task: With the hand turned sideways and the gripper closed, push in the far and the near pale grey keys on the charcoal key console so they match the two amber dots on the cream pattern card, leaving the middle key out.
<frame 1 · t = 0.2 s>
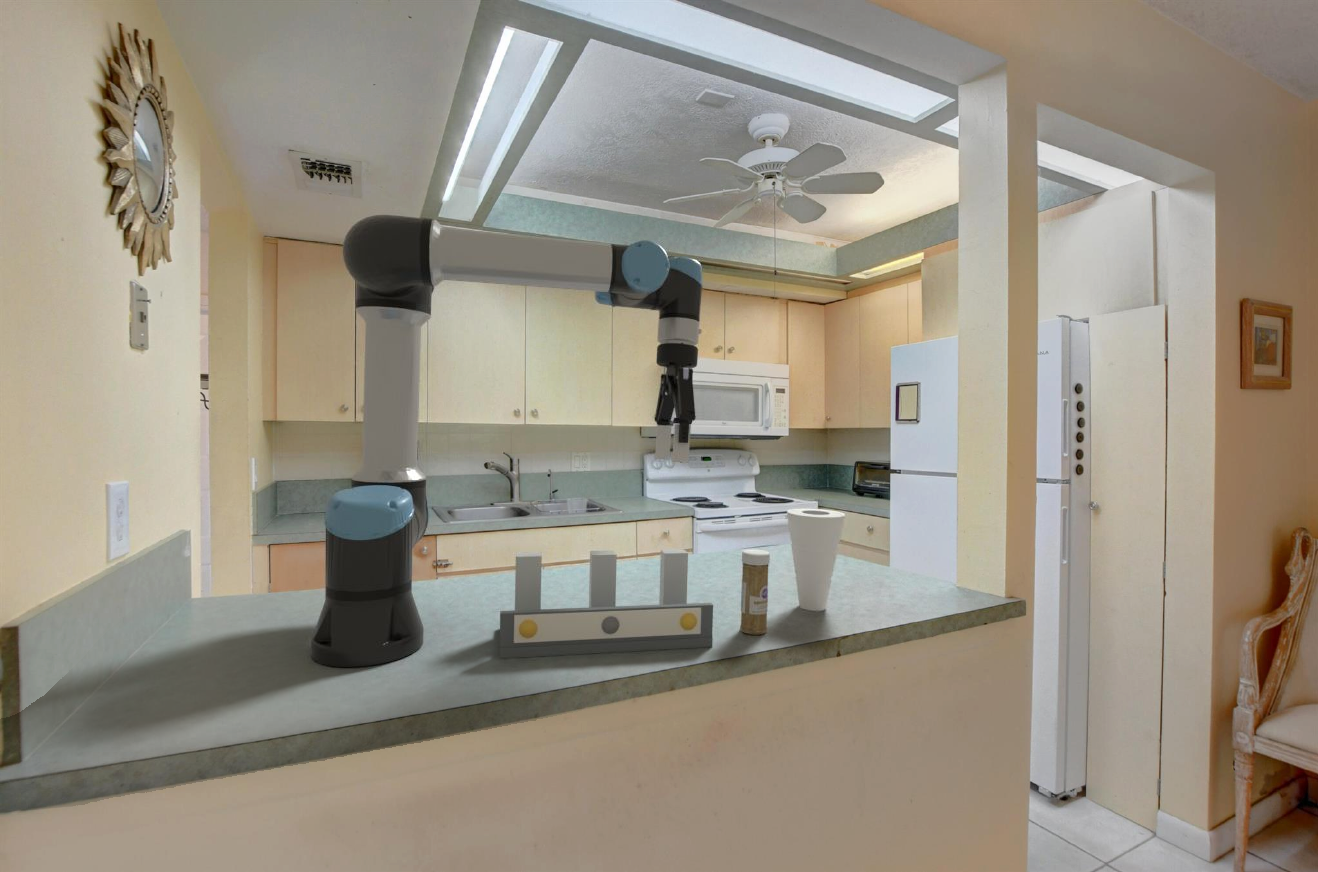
hand: (670, 460, 115), 27 cm above the counter, tool pointing down, fingers open, 13 cm apart
key near: (528, 588, 101), point 7 cm above the counter, slide at 0.0 cm
sprinkles bottle: (753, 632, 105), on the counter
key console: (603, 636, 101), on the counter
key mid: (602, 585, 104), point 7 cm above the counter, slide at 0.0 cm
cup: (812, 608, 120), on the counter
key far: (673, 583, 106), point 7 cm above the counter, slide at 0.0 cm
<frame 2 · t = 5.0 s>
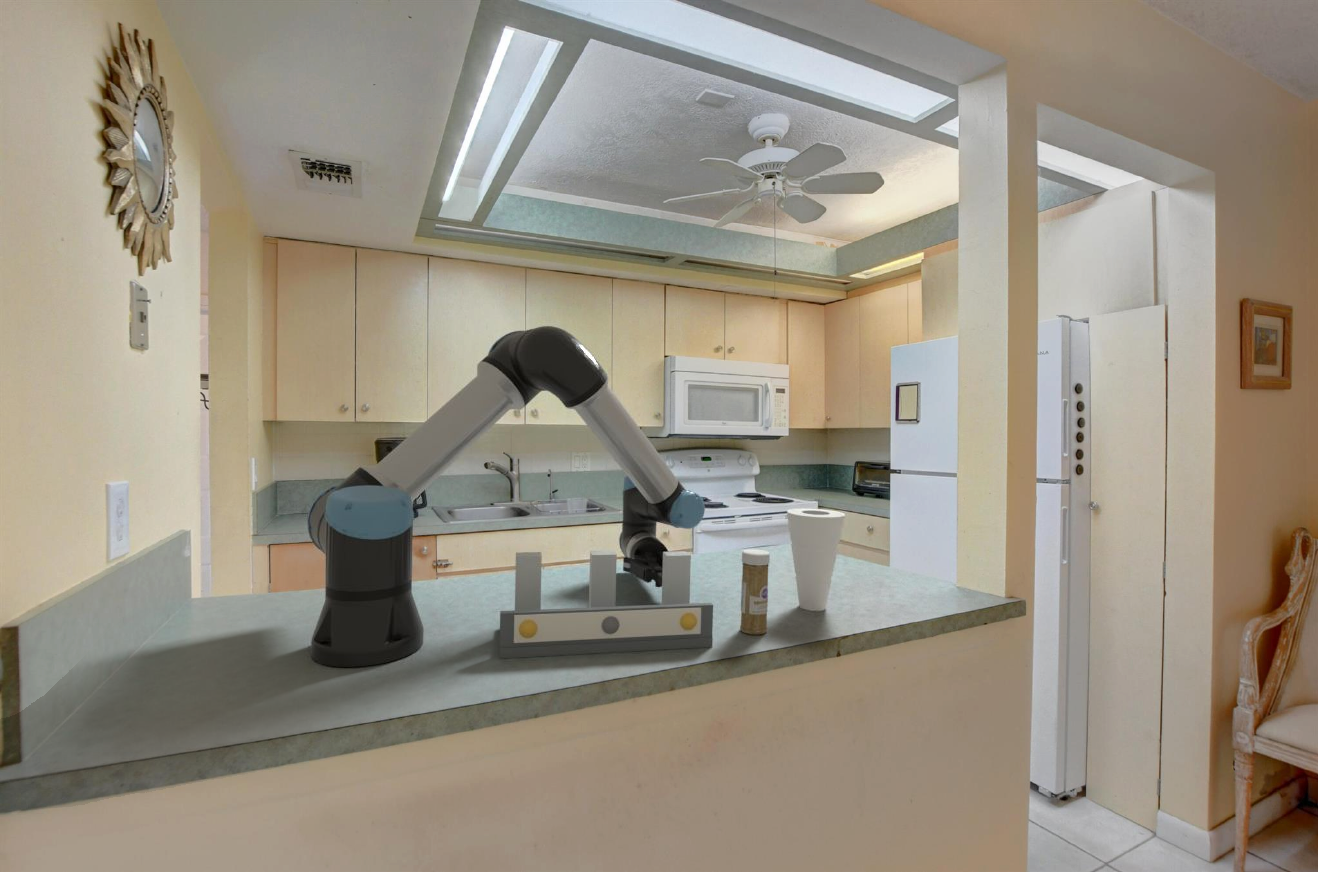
hand: (675, 586, 106), 7 cm above the counter, tool horizontal, fingers closed
key far: (675, 586, 105), point 7 cm above the counter, slide at 1.8 cm, touching gripper
everything else where it was.
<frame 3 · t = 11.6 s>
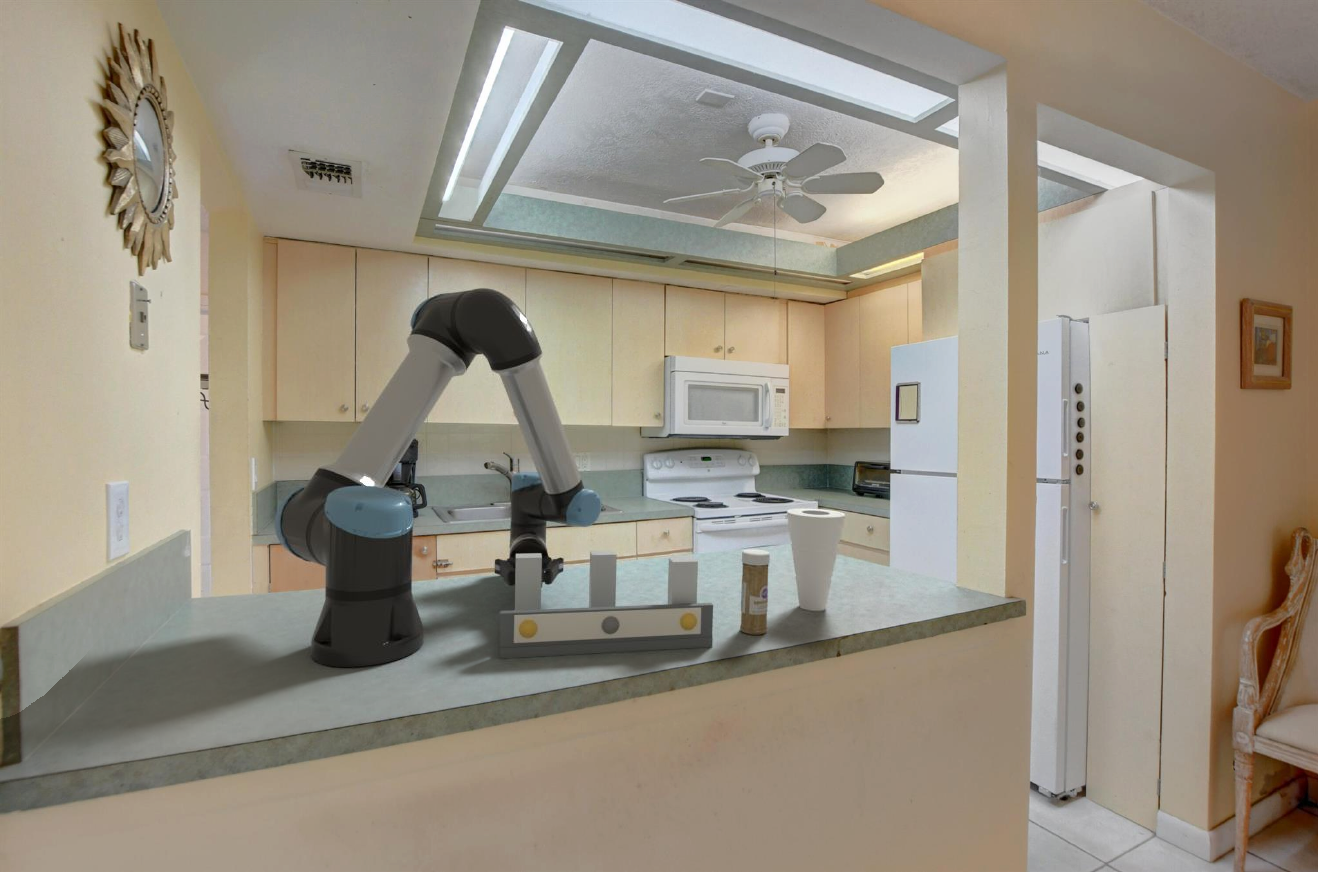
hand: (531, 589, 102), 7 cm above the counter, tool horizontal, fingers closed
key near: (528, 589, 100), point 7 cm above the counter, slide at 0.9 cm, touching gripper
key far: (682, 593, 100), point 7 cm above the counter, slide at 6.0 cm
everything else where it was.
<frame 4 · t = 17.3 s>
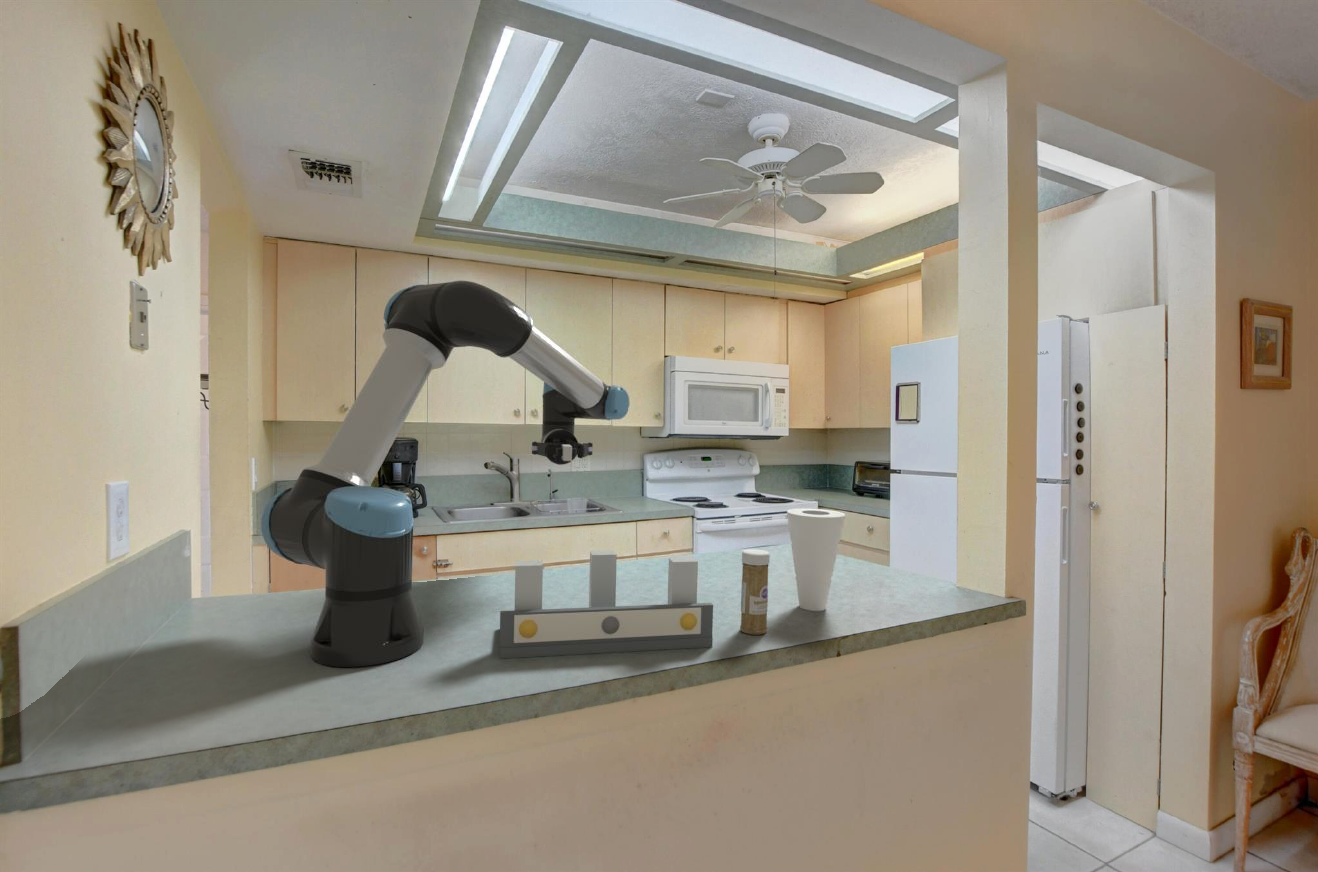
hand: (567, 453, 117), 28 cm above the counter, tool horizontal, fingers closed
key near: (528, 599, 95), point 7 cm above the counter, slide at 6.0 cm
everything else where it was.
at the end: key far slide at 6.0 cm; key near slide at 6.0 cm; key mid slide at 0.0 cm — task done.
